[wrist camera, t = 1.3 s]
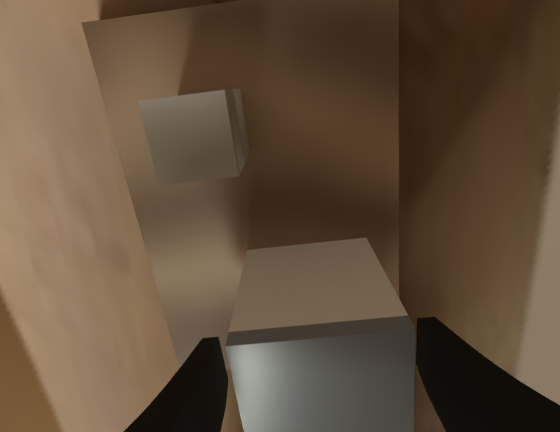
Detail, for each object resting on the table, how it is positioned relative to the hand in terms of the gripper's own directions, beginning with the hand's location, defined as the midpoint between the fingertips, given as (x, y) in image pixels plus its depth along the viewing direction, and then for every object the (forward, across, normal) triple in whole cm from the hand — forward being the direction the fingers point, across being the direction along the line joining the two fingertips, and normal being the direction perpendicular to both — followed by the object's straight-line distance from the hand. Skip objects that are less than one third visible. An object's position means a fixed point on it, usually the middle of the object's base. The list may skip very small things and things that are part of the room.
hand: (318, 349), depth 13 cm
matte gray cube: (+4, 0, 0) cm, 4 cm away
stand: (+5, +2, -4) cm, 6 cm away
